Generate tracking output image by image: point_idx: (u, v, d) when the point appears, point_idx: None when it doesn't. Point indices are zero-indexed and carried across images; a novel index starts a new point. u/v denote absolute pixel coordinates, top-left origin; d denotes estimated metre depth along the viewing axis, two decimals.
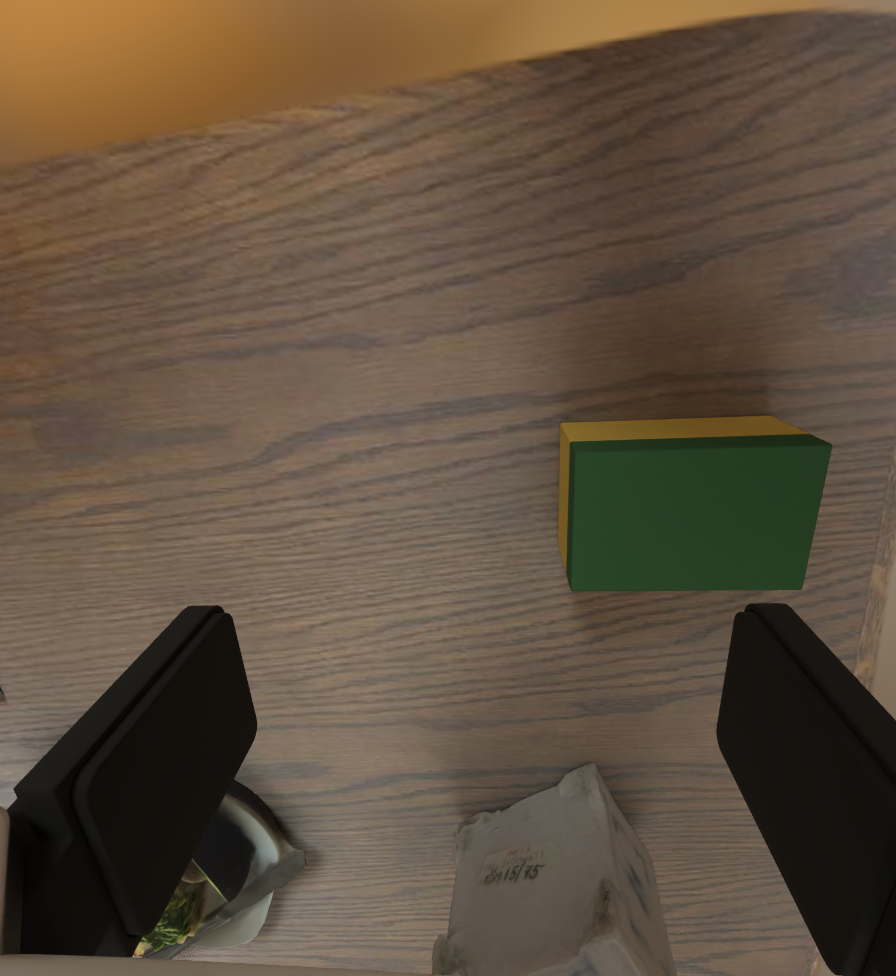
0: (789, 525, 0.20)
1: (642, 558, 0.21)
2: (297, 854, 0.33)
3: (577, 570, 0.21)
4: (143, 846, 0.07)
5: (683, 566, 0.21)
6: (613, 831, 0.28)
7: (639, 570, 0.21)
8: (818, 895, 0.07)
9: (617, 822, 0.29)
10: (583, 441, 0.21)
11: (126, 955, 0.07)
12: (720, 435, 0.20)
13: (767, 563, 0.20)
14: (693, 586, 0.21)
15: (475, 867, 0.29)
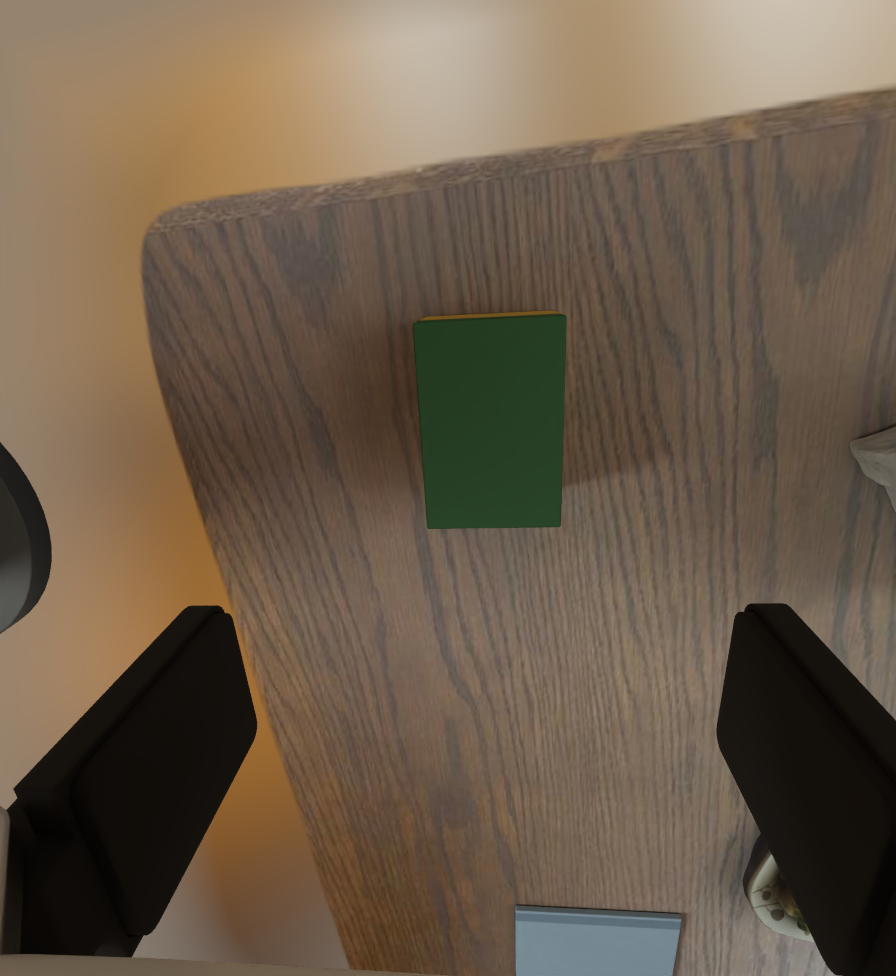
0: (492, 344, 0.21)
1: (526, 469, 0.22)
2: None
3: (537, 523, 0.23)
4: (143, 846, 0.07)
5: (535, 434, 0.22)
6: None
7: (538, 471, 0.22)
8: (818, 895, 0.07)
9: None
10: None
11: (125, 955, 0.07)
12: None
13: (533, 356, 0.21)
14: (558, 421, 0.22)
15: None
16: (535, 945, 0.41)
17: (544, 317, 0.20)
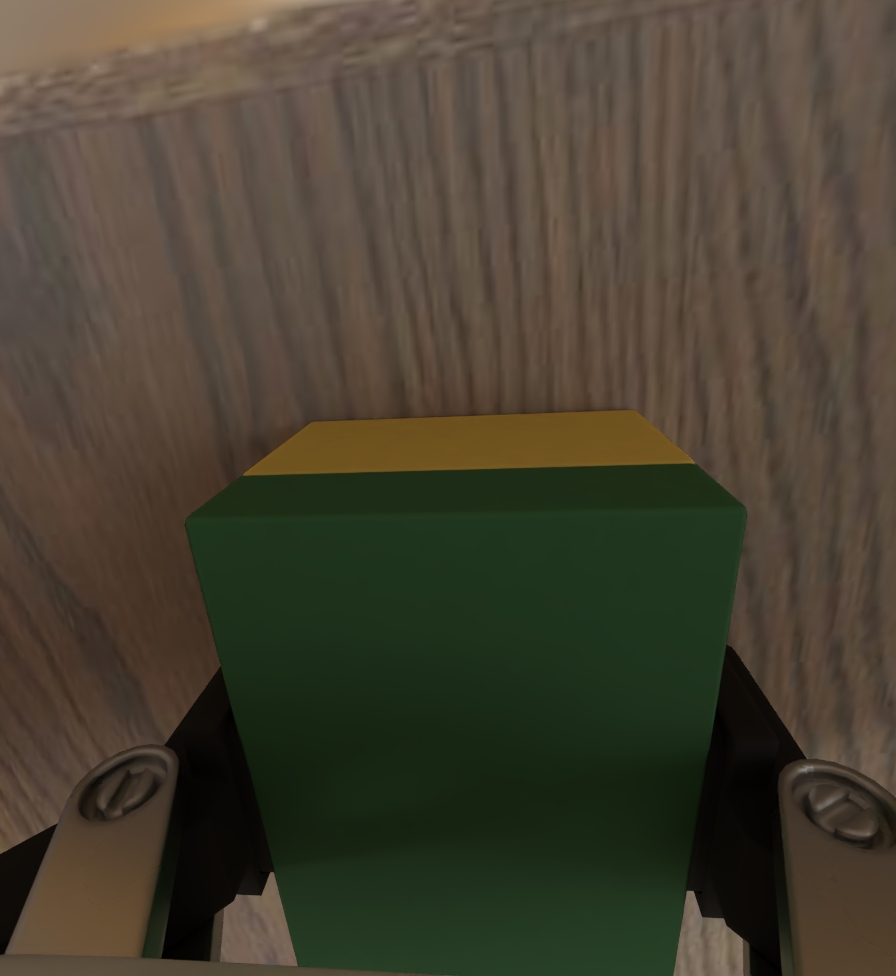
0: (469, 592, 0.06)
1: (575, 907, 0.08)
2: None
3: None
4: None
5: (609, 831, 0.07)
6: None
7: (613, 912, 0.08)
8: None
9: None
10: None
11: (257, 890, 0.08)
12: None
13: (615, 633, 0.06)
14: (684, 807, 0.07)
15: None
16: None
17: (663, 512, 0.05)
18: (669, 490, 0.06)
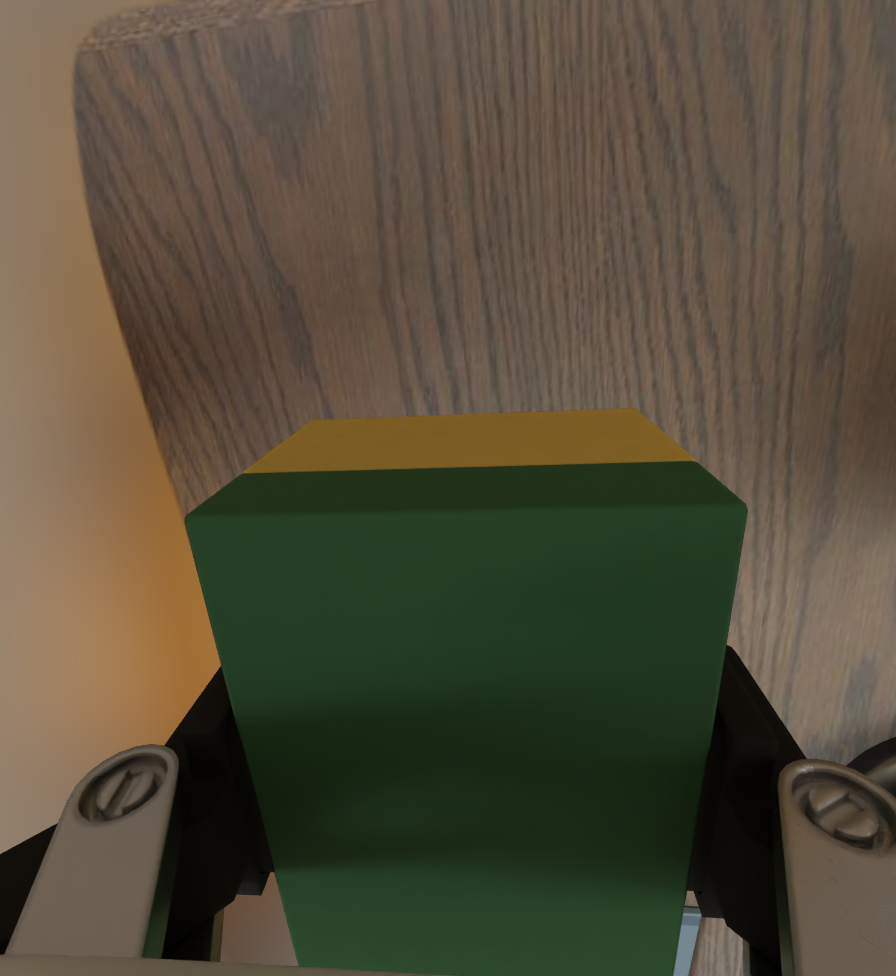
0: (469, 590, 0.06)
1: (576, 905, 0.08)
2: None
3: None
4: None
5: (610, 830, 0.07)
6: None
7: (613, 911, 0.08)
8: None
9: None
10: None
11: (257, 891, 0.08)
12: None
13: (614, 632, 0.06)
14: (685, 805, 0.07)
15: None
16: None
17: (663, 509, 0.05)
18: (670, 487, 0.06)
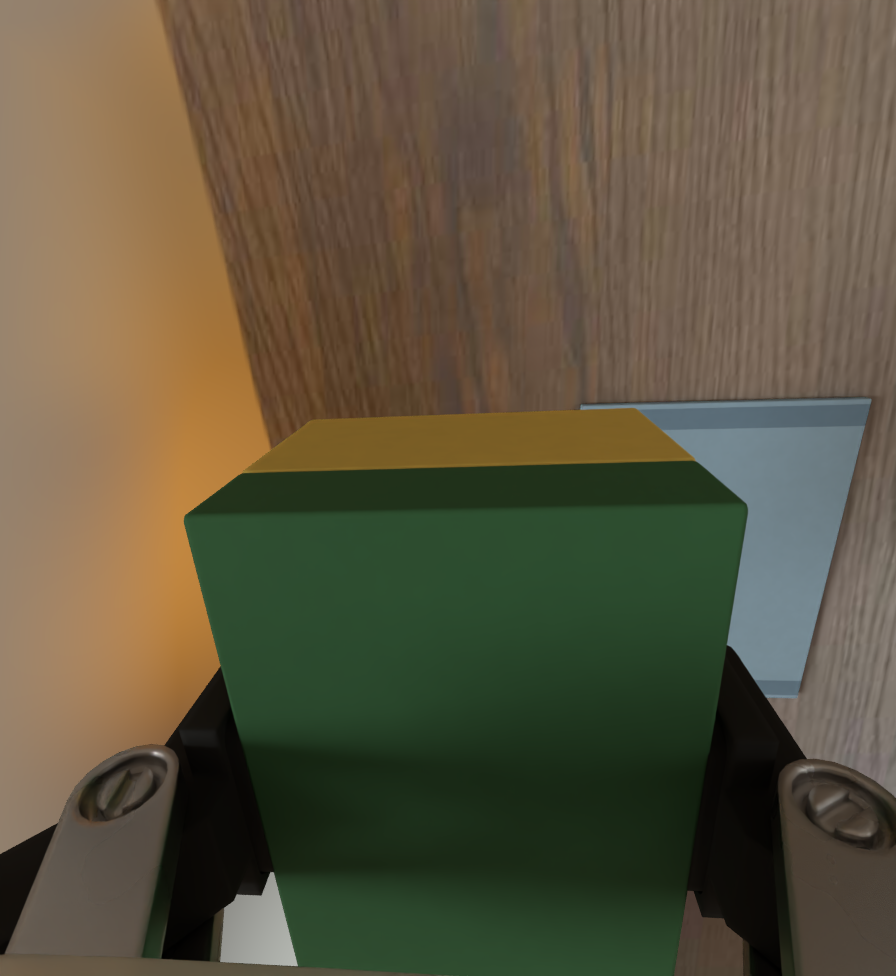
0: (469, 590, 0.06)
1: (575, 905, 0.08)
2: None
3: None
4: None
5: (610, 831, 0.07)
6: None
7: (614, 912, 0.08)
8: None
9: None
10: None
11: (257, 890, 0.08)
12: None
13: (615, 630, 0.06)
14: (685, 805, 0.07)
15: None
16: None
17: (663, 509, 0.05)
18: (670, 487, 0.06)
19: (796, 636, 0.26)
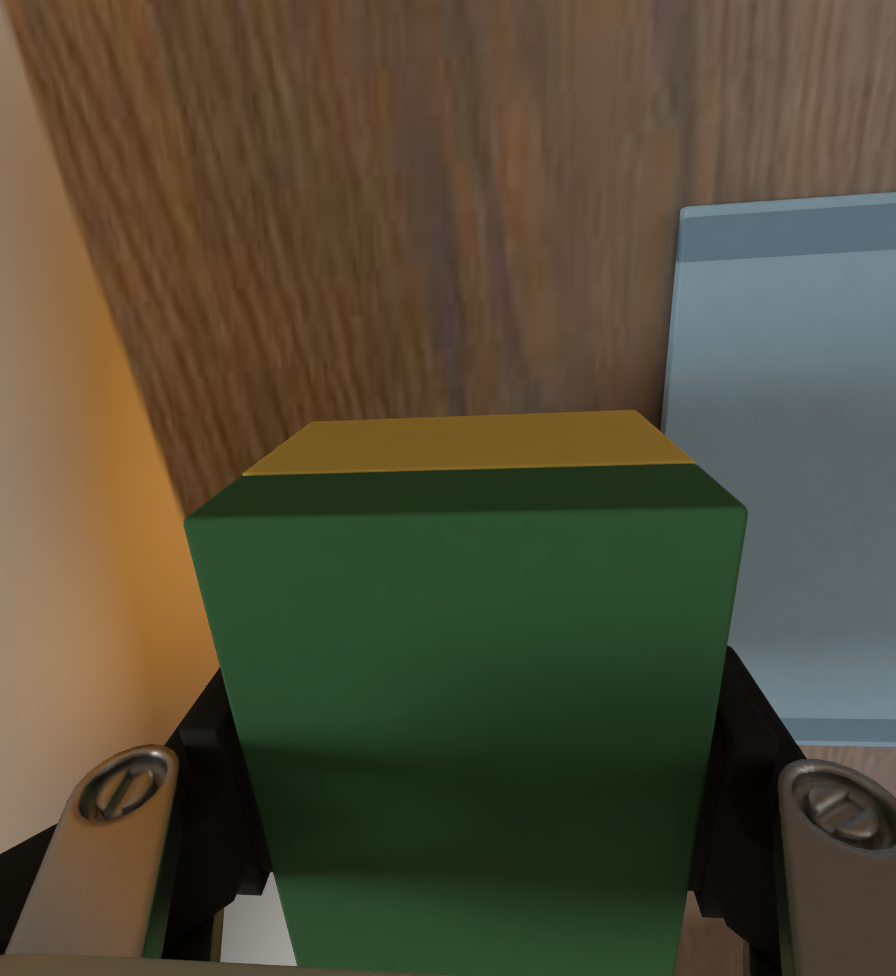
0: (469, 593, 0.06)
1: (576, 908, 0.08)
2: None
3: None
4: None
5: (609, 833, 0.07)
6: None
7: (614, 914, 0.08)
8: None
9: None
10: None
11: (257, 889, 0.08)
12: None
13: (615, 634, 0.06)
14: (685, 808, 0.07)
15: None
16: (731, 381, 0.13)
17: (663, 513, 0.05)
18: (670, 491, 0.06)
19: None
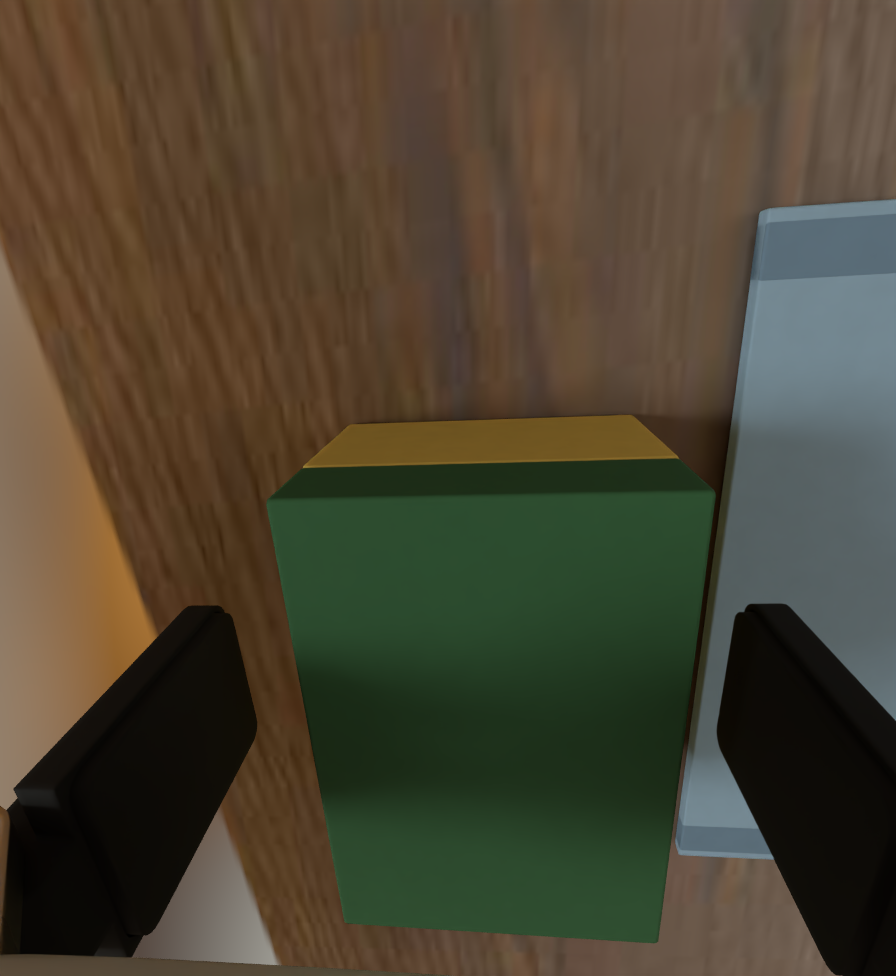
0: (494, 560, 0.07)
1: (579, 836, 0.09)
2: None
3: (603, 933, 0.10)
4: (143, 846, 0.07)
5: (608, 767, 0.08)
6: None
7: (612, 840, 0.09)
8: (818, 895, 0.07)
9: None
10: None
11: (127, 955, 0.07)
12: None
13: (611, 594, 0.07)
14: (670, 744, 0.08)
15: None
16: (818, 432, 0.10)
17: (649, 495, 0.07)
18: (655, 478, 0.07)
19: None
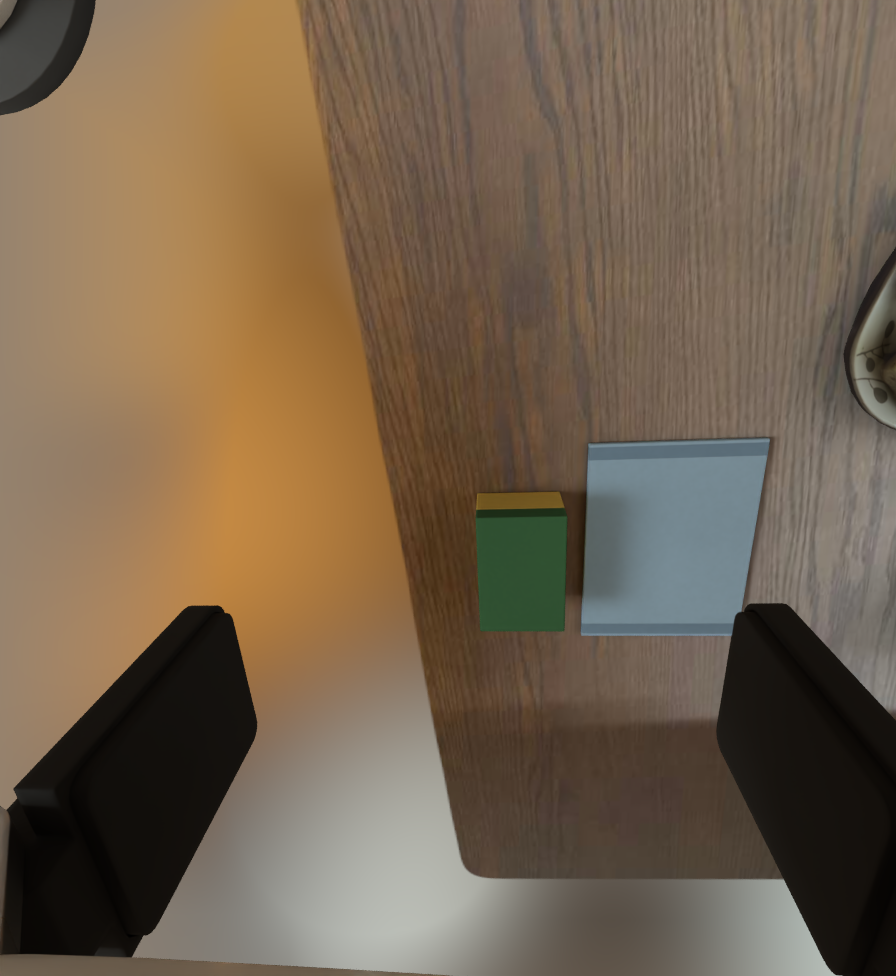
0: (523, 530, 0.35)
1: (542, 598, 0.37)
2: None
3: (550, 628, 0.37)
4: (143, 846, 0.07)
5: (549, 578, 0.36)
6: None
7: (550, 599, 0.37)
8: (818, 895, 0.07)
9: None
10: None
11: (126, 955, 0.07)
12: None
13: (548, 537, 0.35)
14: (562, 572, 0.36)
15: None
16: (608, 497, 0.38)
17: (554, 517, 0.34)
18: (556, 513, 0.35)
19: (733, 592, 0.40)
